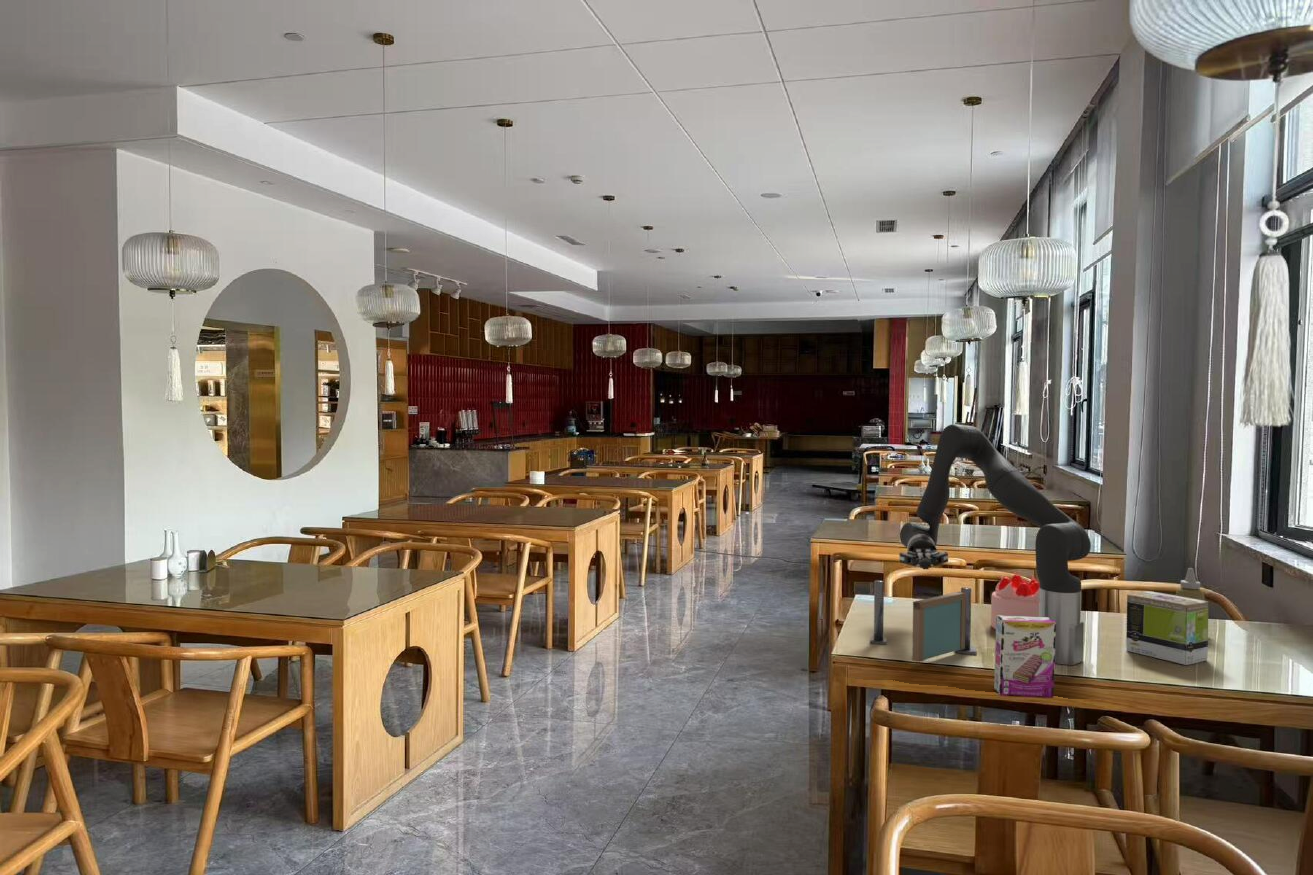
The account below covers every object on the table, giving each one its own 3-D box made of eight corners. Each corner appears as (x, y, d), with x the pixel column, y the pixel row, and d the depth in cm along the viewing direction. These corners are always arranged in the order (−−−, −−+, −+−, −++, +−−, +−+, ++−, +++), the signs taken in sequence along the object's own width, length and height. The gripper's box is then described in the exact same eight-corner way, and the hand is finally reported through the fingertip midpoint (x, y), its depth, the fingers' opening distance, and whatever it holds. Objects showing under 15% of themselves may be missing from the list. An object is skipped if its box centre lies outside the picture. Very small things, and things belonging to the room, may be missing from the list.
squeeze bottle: (1175, 636, 232) (1177, 569, 231) (1168, 629, 239) (1170, 564, 239) (1210, 639, 229) (1212, 571, 228) (1202, 631, 237) (1203, 566, 236)
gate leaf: (958, 646, 216) (959, 591, 215) (964, 648, 214) (965, 592, 214) (912, 660, 204) (913, 601, 204) (918, 661, 203) (919, 603, 202)
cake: (987, 619, 250) (988, 570, 250) (1062, 623, 245) (1063, 574, 245) (994, 636, 232) (995, 583, 231) (1076, 641, 226) (1077, 587, 226)
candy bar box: (1000, 697, 182) (1001, 620, 181) (993, 689, 187) (994, 614, 186) (1055, 699, 181) (1056, 621, 180) (1047, 691, 186) (1048, 616, 185)
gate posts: (974, 647, 220) (975, 585, 219) (976, 654, 213) (977, 590, 213) (870, 639, 227) (871, 579, 226) (869, 646, 220) (870, 584, 220)
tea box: (1208, 660, 209) (1210, 600, 209) (1185, 666, 204) (1187, 604, 204) (1147, 645, 222) (1149, 589, 222) (1124, 651, 217) (1125, 593, 217)
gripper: (896, 536, 237) (898, 551, 221) (946, 535, 234) (952, 550, 217) (897, 563, 238) (899, 580, 221) (947, 562, 235) (953, 579, 218)
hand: (925, 565), depth 219 cm, fingers closed
